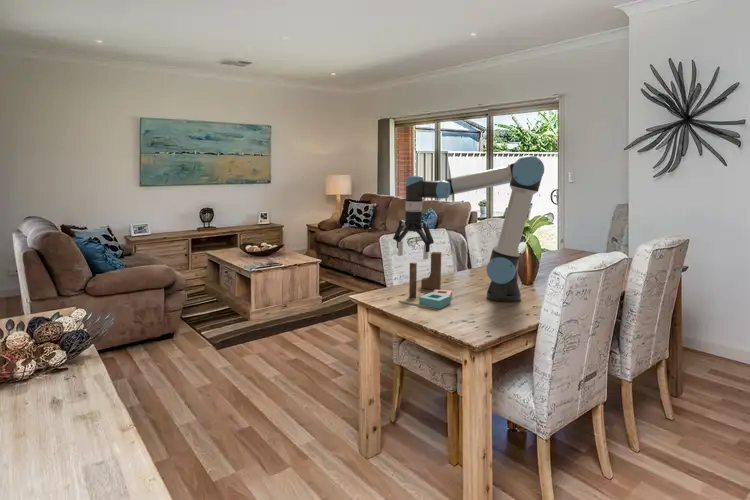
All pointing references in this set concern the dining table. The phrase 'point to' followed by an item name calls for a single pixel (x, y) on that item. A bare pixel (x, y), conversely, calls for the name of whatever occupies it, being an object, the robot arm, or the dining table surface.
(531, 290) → the dining table surface
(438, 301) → the teal bead
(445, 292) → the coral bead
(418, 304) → the grey cord
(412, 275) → the brown square post
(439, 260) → the wooden block
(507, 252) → the robot arm
